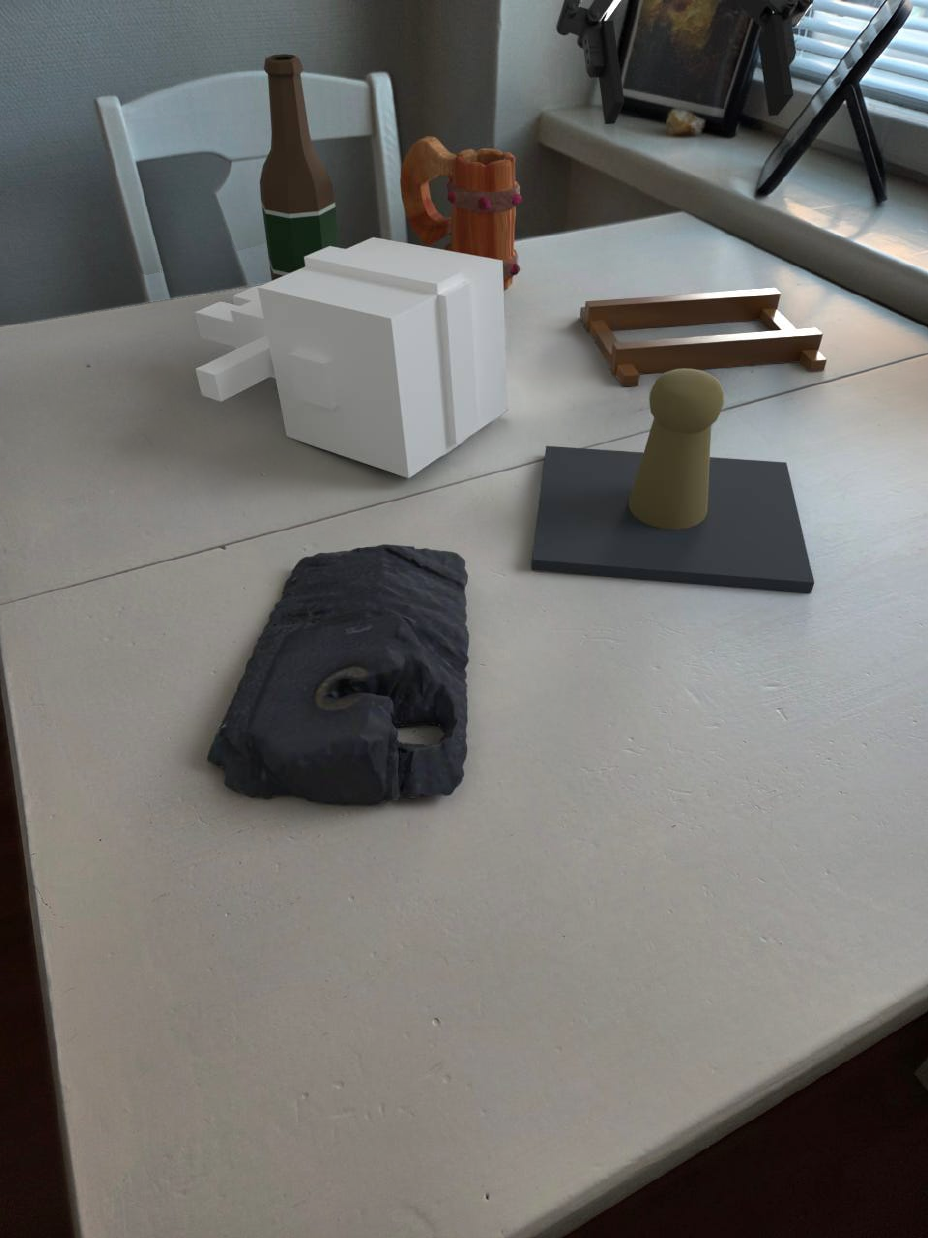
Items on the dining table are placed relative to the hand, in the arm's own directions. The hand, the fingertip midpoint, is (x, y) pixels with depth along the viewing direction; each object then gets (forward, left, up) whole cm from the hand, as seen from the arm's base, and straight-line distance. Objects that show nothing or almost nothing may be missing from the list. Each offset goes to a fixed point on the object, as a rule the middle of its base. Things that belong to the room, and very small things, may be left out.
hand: (698, 109), depth 74 cm
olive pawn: (0, +20, -23) cm, 31 cm away
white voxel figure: (+29, +6, -24) cm, 38 cm away
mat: (0, +20, -24) cm, 32 cm away
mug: (+22, -24, -24) cm, 40 cm away
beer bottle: (+38, -16, -24) cm, 47 cm away
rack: (-4, -12, -24) cm, 27 cm away
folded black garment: (+20, +40, -24) cm, 51 cm away
